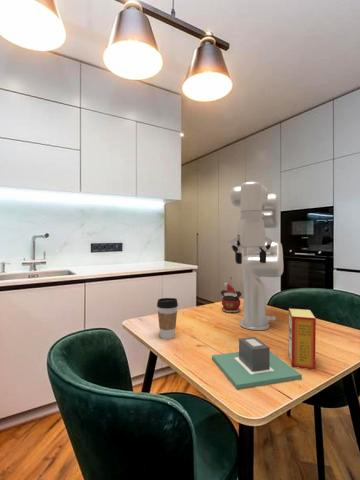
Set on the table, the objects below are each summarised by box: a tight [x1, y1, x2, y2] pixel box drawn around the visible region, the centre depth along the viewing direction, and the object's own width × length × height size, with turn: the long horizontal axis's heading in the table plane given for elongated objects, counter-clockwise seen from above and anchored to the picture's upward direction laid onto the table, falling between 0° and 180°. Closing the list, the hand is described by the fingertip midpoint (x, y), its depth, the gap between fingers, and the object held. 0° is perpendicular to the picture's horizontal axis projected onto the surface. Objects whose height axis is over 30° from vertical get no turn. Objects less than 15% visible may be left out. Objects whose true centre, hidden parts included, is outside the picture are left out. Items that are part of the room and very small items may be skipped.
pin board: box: [211, 351, 303, 390], centre depth 82 cm, size 20×18×5 cm
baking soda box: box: [288, 307, 317, 370], centre depth 86 cm, size 10×6×16 cm
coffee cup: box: [156, 297, 179, 340], centre depth 108 cm, size 8×8×15 cm
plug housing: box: [238, 336, 271, 372], centre depth 82 cm, size 6×8×7 cm, turn 15°
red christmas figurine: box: [220, 276, 242, 313], centre depth 143 cm, size 11×9×18 cm
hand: (250, 263), depth 99 cm, fingers open, 9 cm apart
